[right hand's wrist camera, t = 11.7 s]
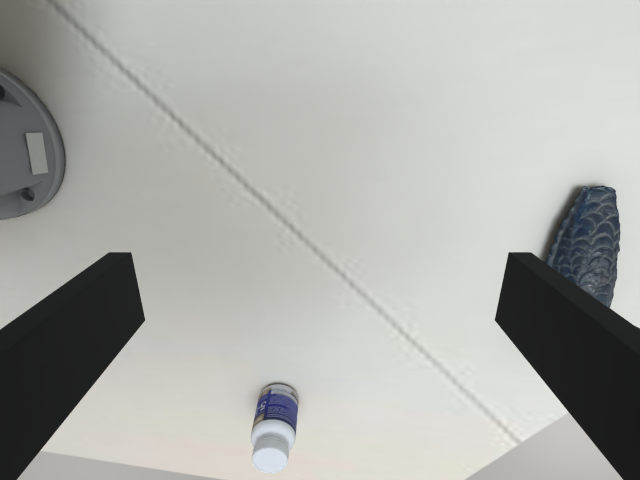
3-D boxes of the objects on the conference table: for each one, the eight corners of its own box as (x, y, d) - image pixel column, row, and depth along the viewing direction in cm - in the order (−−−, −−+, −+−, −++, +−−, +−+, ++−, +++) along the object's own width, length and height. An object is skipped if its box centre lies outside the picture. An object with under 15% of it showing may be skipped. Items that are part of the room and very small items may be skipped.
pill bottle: (262, 379, 46) (249, 440, 38) (301, 386, 47) (297, 447, 39) (256, 410, 48) (243, 474, 40) (294, 416, 49) (289, 480, 40)
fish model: (520, 351, 45) (544, 379, 40) (552, 185, 37) (586, 196, 33) (574, 349, 45) (604, 377, 40) (616, 182, 37) (659, 193, 33)
